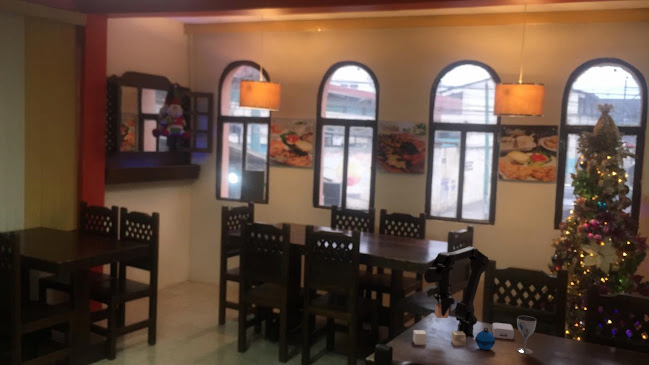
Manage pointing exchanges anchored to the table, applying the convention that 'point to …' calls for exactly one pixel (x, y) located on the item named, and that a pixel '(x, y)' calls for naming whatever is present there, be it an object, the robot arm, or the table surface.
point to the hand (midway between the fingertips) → (441, 313)
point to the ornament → (485, 339)
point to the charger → (502, 330)
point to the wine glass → (525, 331)
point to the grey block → (419, 337)
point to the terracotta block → (438, 311)
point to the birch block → (458, 338)
